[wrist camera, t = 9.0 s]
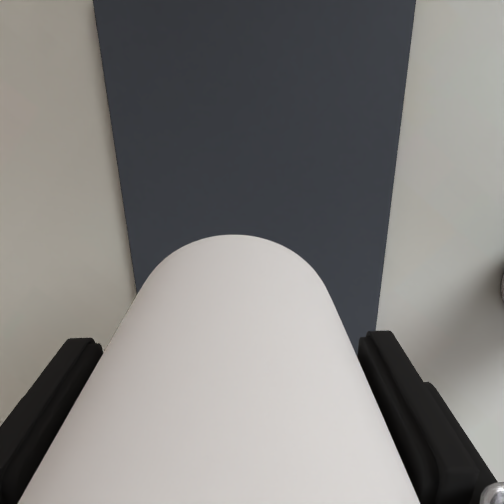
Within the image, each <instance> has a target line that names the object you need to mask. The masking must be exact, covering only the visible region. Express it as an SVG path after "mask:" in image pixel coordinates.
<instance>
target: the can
mask: <svg viewBox="0 0 504 504" xmlns="http://www.w3.org/2000/svg"><path fill="white" fill-rule="evenodd" d="M18 504H420V502H419V499H418V497H417V495H416V492H415V490H414V488H413V485H412V483H411V481H410V478H409V476H408V474H407V472H406V469H405V467H404V465H403V462H402V460H401V458H400V455H399V453H398V451H397V448H396V446H395V444H394V441H393V439H392V437H391V434H390V432H389V430H388V427H387V425H386V423H385V420H384V418H383V416H382V413H381V411H380V409H379V407H378V404H377V402H376V400H375V397H374V395H373V393H372V390H371V388H370V386H369V383H368V381H367V379H366V377H365V374H364V372H363V370H362V367H361V365H360V363H359V360H358V358H357V356H356V353H355V351H354V349H353V347H352V344H351V342H350V340H349V337H348V335H347V333H346V331H345V328H344V326H343V324H342V321H341V319H340V317H339V315H338V312H337V310H336V308H335V306H334V304H333V301H332V299H331V297H330V295H329V293H328V291H327V289H326V287H325V285H324V283H323V282H322V280H321V279H320V277H319V276H318V274H317V273H316V272H315V270H314V269H313V268H312V267H311V266H310V265H309V264H308V263H307V262H306V261H305V260H304V259H302V258H301V257H300V256H299V255H297V254H296V253H294V252H293V251H291V250H290V249H288V248H286V247H284V246H282V245H280V244H278V243H275V242H273V241H270V240H267V239H263V238H259V237H254V236H248V235H219V236H213V237H208V238H204V239H201V240H198V241H195V242H192V243H190V244H187V245H185V246H183V247H181V248H180V249H178V250H176V251H175V252H173V253H172V254H170V255H169V256H168V257H166V258H165V259H164V260H163V261H162V262H161V263H160V264H159V265H158V266H157V267H156V268H155V269H154V270H153V271H152V273H151V274H150V275H149V277H148V278H147V280H146V281H145V283H144V284H143V286H142V287H141V289H140V291H139V292H138V294H137V296H136V297H135V299H134V301H133V303H132V304H131V306H130V308H129V309H128V311H127V313H126V315H125V316H124V318H123V320H122V322H121V323H120V325H119V327H118V328H117V330H116V332H115V334H114V335H113V337H112V339H111V341H110V342H109V344H108V346H107V348H106V349H105V351H104V353H103V355H102V356H101V358H100V360H99V362H98V363H97V365H96V367H95V369H94V370H93V372H92V374H91V376H90V377H89V379H88V381H87V383H86V384H85V386H84V388H83V390H82V391H81V393H80V395H79V397H78V398H77V400H76V402H75V404H74V405H73V407H72V409H71V411H70V412H69V414H68V416H67V418H66V419H65V421H64V423H63V425H62V426H61V428H60V430H59V432H58V433H57V435H56V437H55V439H54V440H53V442H52V444H51V446H50V447H49V449H48V451H47V453H46V454H45V456H44V458H43V460H42V462H41V463H40V465H39V467H38V469H37V470H36V472H35V474H34V476H33V477H32V479H31V481H30V483H29V484H28V486H27V488H26V490H25V491H24V493H23V495H22V497H21V498H20V500H19V502H18Z"/></svg>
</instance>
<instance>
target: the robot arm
mask: <svg viewBox="0 0 504 504" xmlns="http://www.w3.org/2000/svg"><path fill="white" fill-rule="evenodd" d="M102 355H103V350H102V346H101V345H100V344H99V343H95V341H94V340H93V339H92V338H70V339H68V340H67V341H66V342H65V343H64V344H63V346H62V347H61V348H60V350H59V351H58V352H57V354H56V355H55V356H54V358H53V359H52V360H51V361H50V363H49V364H48V365H47V367H46V368H45V369H44V371H43V372H42V373H41V375H40V376H39V377H38V379H37V380H36V381H35V383H34V384H33V385H32V387H31V388H30V389H29V391H28V392H27V393H26V395H25V396H24V397H23V398H22V399H21V400H20V401H19V403H18V404H17V405H16V407H15V408H14V409H13V411H12V412H11V413H10V415H9V416H8V417H7V419H6V420H5V421H4V423H3V424H2V425H1V427H0V504H18V502H19V500H20V498H21V497H22V495H23V493H24V491H25V490H26V488H27V486H28V484H29V483H30V481H31V479H32V477H33V476H34V474H35V472H36V470H37V469H38V467H39V465H40V463H41V462H42V460H43V458H44V456H45V454H46V453H47V451H48V449H49V447H50V446H51V444H52V442H53V440H54V439H55V437H56V435H57V433H58V432H59V430H60V428H61V426H62V425H63V423H64V421H65V419H66V418H67V416H68V414H69V412H70V411H71V409H72V407H73V405H74V404H75V402H76V400H77V398H78V397H79V395H80V393H81V391H82V390H83V388H84V386H85V384H86V383H87V381H88V379H89V377H90V376H91V374H92V372H93V370H94V369H95V367H96V365H97V363H98V362H99V360H100V358H101V356H102ZM357 358H358V360H359V363H360V365H361V367H362V370H363V372H364V374H365V377H366V379H367V381H368V383H369V386H370V388H371V390H372V393H373V395H374V397H375V400H376V402H377V404H378V407H379V409H380V411H381V413H382V416H383V418H384V420H385V423H386V425H387V427H388V430H389V432H390V434H391V437H392V439H393V441H394V444H395V446H396V448H397V451H398V453H399V455H400V458H401V460H402V462H403V465H404V467H405V469H406V472H407V474H408V476H409V478H410V481H411V483H412V485H413V488H414V490H415V492H416V495H417V497H418V499H419V502H420V504H504V482H497V480H496V479H495V477H494V476H493V474H492V473H491V471H490V470H489V468H488V467H487V465H486V464H485V462H484V461H483V459H482V458H481V456H480V455H479V453H478V452H477V450H476V449H475V447H474V446H473V444H472V443H471V441H470V440H469V438H468V437H467V435H466V433H465V432H464V430H463V429H462V427H461V426H460V424H459V423H458V421H457V420H456V418H455V417H454V415H453V414H452V412H451V411H450V409H449V408H448V406H447V405H446V403H445V402H444V400H443V399H442V397H441V396H440V394H439V393H438V391H437V390H436V388H435V387H434V386H433V385H432V384H431V383H429V382H423V381H422V379H421V377H420V376H419V374H418V373H417V371H416V370H415V368H414V366H413V365H412V363H411V362H410V360H409V358H408V357H407V355H406V354H405V352H404V351H403V349H402V347H401V346H400V344H399V343H398V341H397V339H396V338H395V336H394V335H393V333H392V332H391V331H368V332H367V334H366V337H360V339H359V345H358V354H357Z"/></svg>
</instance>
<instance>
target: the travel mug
mask: <svg viewBox="0 0 504 504" xmlns="http://www.w3.org/2000/svg"><path fill="white" fill-rule="evenodd" d="M501 292H502V298H503V301H504V275H503V278H502V285H501Z"/></svg>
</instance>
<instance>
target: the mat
mask: <svg viewBox="0 0 504 504" xmlns="http://www.w3.org/2000/svg"><path fill="white" fill-rule="evenodd" d="M415 4H416V0H93V5H94V11H95V18H96V25H97V31H98V38H99V45H100V51H101V58H102V65H103V71H104V78H105V85H106V91H107V98H108V105H109V111H110V118H111V125H112V131H113V138H114V145H115V151H116V158H117V164H118V171H119V178H120V184H121V191H122V198H123V204H124V211H125V218H126V224H127V231H128V238H129V244H130V251H131V258H132V264H133V271H134V278H135V284H136V291H137V294H138V292H139V291H140V289H141V287H142V286H143V284H144V283H145V281H146V280H147V278H148V277H149V275H150V274H151V273H152V271H153V270H154V269H155V268H156V267H157V266H158V265H159V264H160V263H161V262H162V261H163V260H164V259H165V258H166V257H168V256H169V255H170V254H172V253H173V252H175V251H176V250H178V249H180V248H181V247H183V246H185V245H187V244H190V243H192V242H195V241H198V240H201V239H204V238H208V237H213V236H219V235H248V236H254V237H259V238H263V239H267V240H270V241H273V242H275V243H278V244H280V245H282V246H284V247H286V248H288V249H290V250H291V251H293V252H294V253H296V254H297V255H299V256H300V257H301V258H302V259H304V260H305V261H306V262H307V263H308V264H309V265H310V266H311V267H312V268H313V269H314V270H315V272H316V273H317V274H318V276H319V277H320V279H321V280H322V282H323V283H324V285H325V287H326V289H327V291H328V293H329V295H330V297H331V299H332V301H333V304H334V306H335V308H336V310H337V312H338V315H339V317H340V319H341V321H342V324H343V326H344V328H345V331H346V333H347V335H348V337H349V340H350V342H351V344H352V347H353V349H354V351H355V353H356V356H357V354H358V345H359V339H360V337H366V334H367V332H368V331H375V330H376V321H377V313H378V305H379V297H380V289H381V281H382V273H383V264H384V256H385V248H386V240H387V232H388V224H389V216H390V207H391V199H392V191H393V183H394V175H395V167H396V158H397V150H398V142H399V134H400V126H401V118H402V110H403V101H404V93H405V85H406V77H407V69H408V61H409V53H410V44H411V36H412V28H413V20H414V12H415Z"/></svg>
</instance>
